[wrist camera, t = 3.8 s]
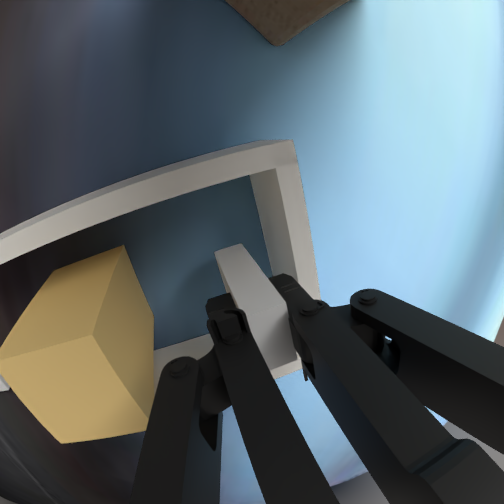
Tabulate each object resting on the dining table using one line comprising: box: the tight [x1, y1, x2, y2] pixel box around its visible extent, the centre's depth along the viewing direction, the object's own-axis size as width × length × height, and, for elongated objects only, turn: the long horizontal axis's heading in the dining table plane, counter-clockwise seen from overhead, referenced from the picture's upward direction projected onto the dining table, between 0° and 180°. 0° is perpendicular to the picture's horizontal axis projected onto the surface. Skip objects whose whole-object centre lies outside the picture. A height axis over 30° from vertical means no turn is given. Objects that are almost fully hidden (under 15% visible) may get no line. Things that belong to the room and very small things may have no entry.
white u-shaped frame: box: [0, 140, 321, 397], centre depth 15 cm, size 12×17×5 cm
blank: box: [0, 245, 154, 443], centre depth 13 cm, size 5×5×9 cm
